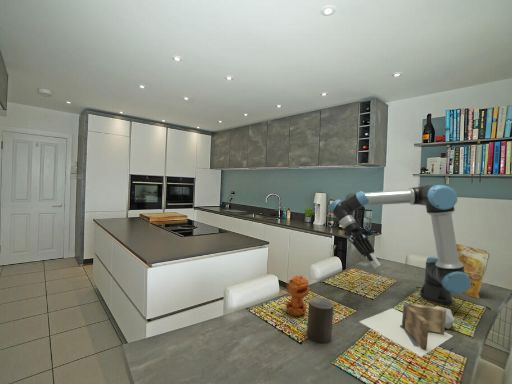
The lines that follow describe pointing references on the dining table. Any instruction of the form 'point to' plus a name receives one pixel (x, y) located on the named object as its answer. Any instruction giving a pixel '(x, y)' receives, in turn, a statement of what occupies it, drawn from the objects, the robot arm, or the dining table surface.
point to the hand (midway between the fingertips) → (377, 266)
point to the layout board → (402, 332)
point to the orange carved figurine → (297, 295)
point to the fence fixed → (429, 316)
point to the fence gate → (416, 326)
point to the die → (448, 318)
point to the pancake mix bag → (473, 267)
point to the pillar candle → (320, 320)
